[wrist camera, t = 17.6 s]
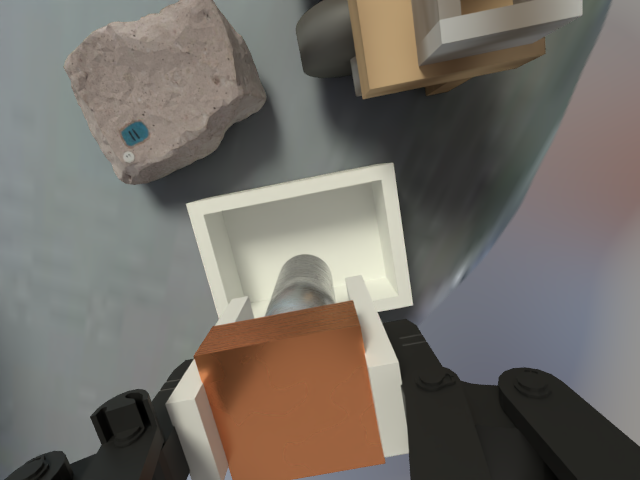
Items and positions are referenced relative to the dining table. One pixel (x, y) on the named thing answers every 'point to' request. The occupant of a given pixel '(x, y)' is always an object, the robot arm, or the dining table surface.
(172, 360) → the dining table surface
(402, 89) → the trolley
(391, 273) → the tray
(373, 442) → the pin
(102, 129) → the stone
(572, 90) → the dining table surface
